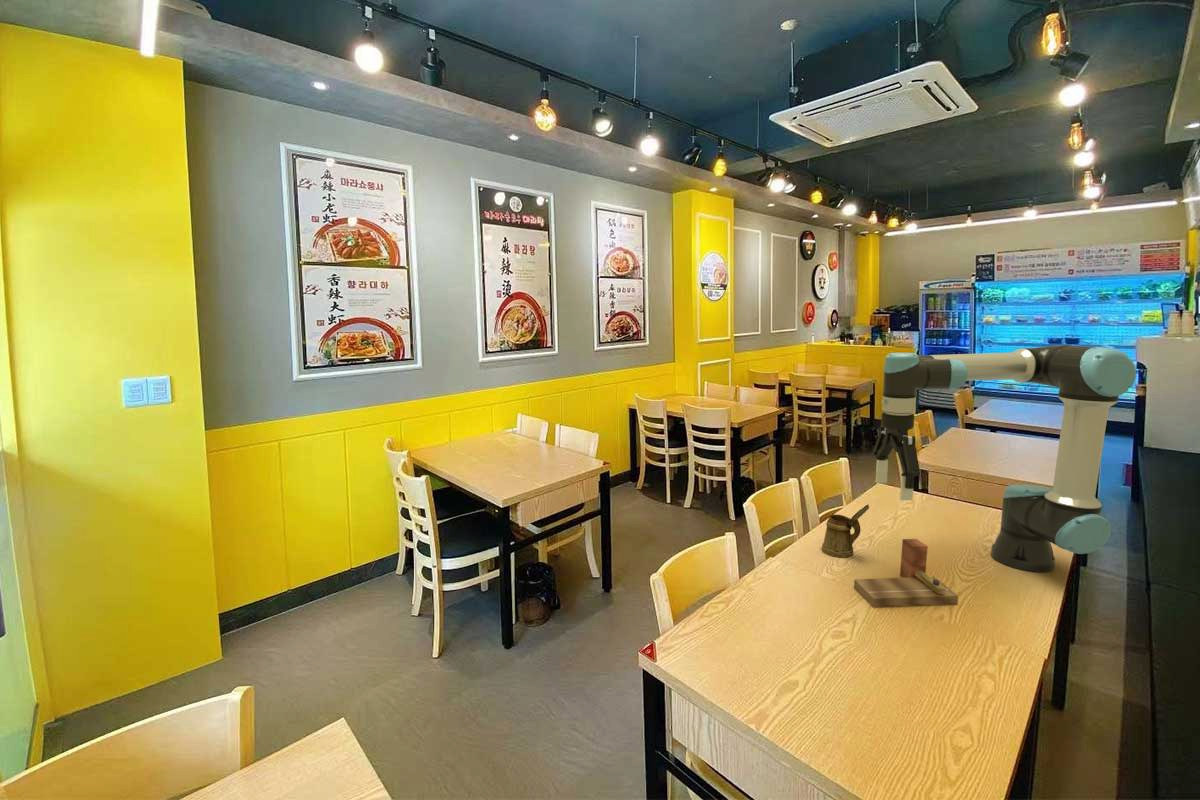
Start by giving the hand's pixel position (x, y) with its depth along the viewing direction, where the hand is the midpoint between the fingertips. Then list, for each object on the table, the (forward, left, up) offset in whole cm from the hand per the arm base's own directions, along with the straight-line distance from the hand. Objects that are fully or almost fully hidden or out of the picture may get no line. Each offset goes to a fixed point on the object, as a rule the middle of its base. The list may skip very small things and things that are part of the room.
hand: (893, 491), depth 143 cm
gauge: (-9, +2, -27) cm, 29 cm away
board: (-2, +4, -28) cm, 28 cm away
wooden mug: (+2, -21, -28) cm, 35 cm away
